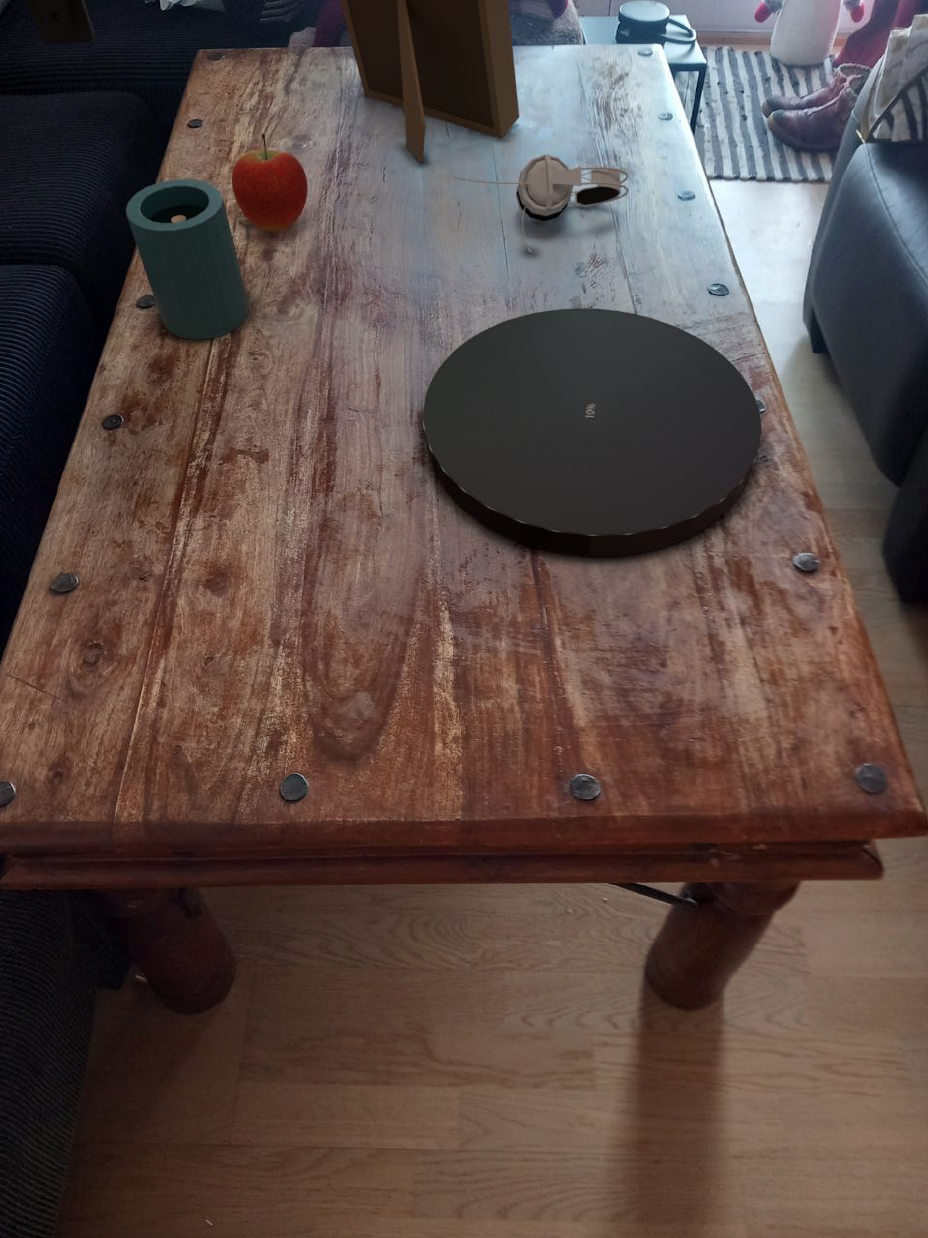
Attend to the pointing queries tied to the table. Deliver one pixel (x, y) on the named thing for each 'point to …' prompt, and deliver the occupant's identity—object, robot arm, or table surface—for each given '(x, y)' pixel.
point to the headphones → (561, 188)
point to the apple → (270, 188)
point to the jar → (189, 257)
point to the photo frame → (437, 62)
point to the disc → (591, 431)
